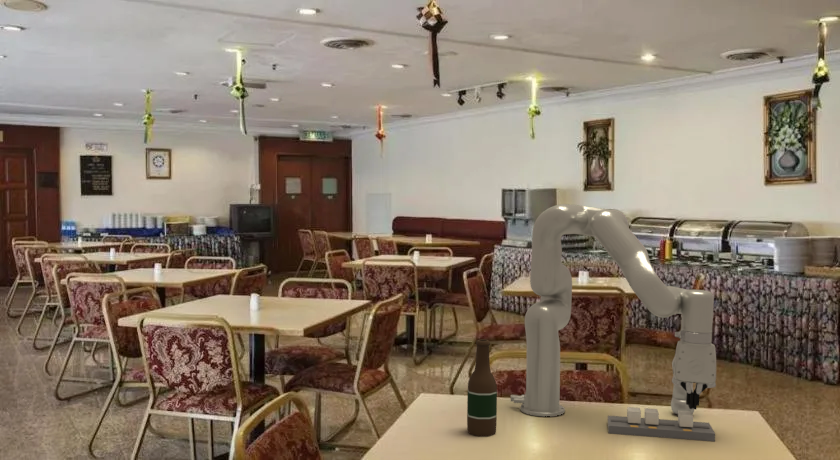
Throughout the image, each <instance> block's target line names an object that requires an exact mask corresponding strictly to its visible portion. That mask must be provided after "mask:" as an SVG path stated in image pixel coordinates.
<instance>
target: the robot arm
mask: <svg viewBox="0 0 840 460" xmlns="http://www.w3.org/2000/svg"><path fill="white" fill-rule="evenodd" d="M564 235H581V236H588V237H594V238H596V239H597V241H598V242H599V244H600V245H601V246H602V247H603V248H604V250H605V251H606V252H607V254H608V255H609V256H610V257H611V259H613V261H614V262H615V263H616V265H617V266H618V267H619V269H620V271H621V272H622V275H623V277H624V278H625V280H626V282H627V283H628V284H629V287H630V289H632V291H633V292H634V294H635V295H636V296H637V298H638V299H639V300H640V301H641V303H642V304H643V305H644V307H645V308H646V309H647V310H648V311H649V312H650V313H651V314H652V315H653V316H656V317H659V318H662V319H663V318H664V319H665V318H669V317H672V316H674V315H677V314H679V315H680V314H681V323H680V325H681V326H680V330H679V331H675V332H674V337H675V338H678V339H680V340H677V344H676V348H675V353H674V357H675V358H674V357H673V359H674V367H673V368H672V375H673V374H674V375H673V376H672V378H671V384H673V385H674V384H676V385H680V386H682V387H683V388H684V389H685V391H686V392H687V395H686V404H687V405H688V406H689V408H690V409H694V410H697V407H698V406H699V407H700V395H701V394H702V393H703V392H704V391H706V390H707V389H711V388H716V386H717V384H716V381H717V355H716V353H717V352H716V346H715V344H713V343H712V340H713V339H712V338H713V323H714V322H713V320H714V319H713V318H714V304H715V303H714V302H715V299H714V298H715V297H714V294H713V293H712V292H711V291H709V290H704V289H687V288H686V289H685V288H681V287H677V286H674V285H673V286H672V285H666V284H665V283H664V282H663V281H662V280H661V278H660V277H659V276H658V274H657V273H656V271H655V269H654V268H653V267H652V266H653V265H652V264H651V261H650V257H649V253H648V250H647V249H646V247H645V246H644V244H643V243H642V242H641V241H640V240H639V238H637V236H636V235H635V234H634V233H633V231H632V230H631V229H630V228H629V221H628V218H627V217H626V215H625V214H624V212H621V211H620V210H616V209H611V208H601V207H600V208H599V207H592V206H587V205H581V204H580V205H579V204H578V205H577V204H569V203H567V204H566V203H561V204H557V205H553V206H551V207H548V208H546V210H544V211H542V212H541V213H540V214H539V215H538V216H537V218H536V219H535V221H534V224H533V228H532V235H531V240H532V241H531V242H532V243H531V246H532V247H531V254H530V256H531V257H530V276H529V277H530V278H529V279H530V280H529V283H530V284H529V285H530V288H531V290H532V292H533V293H534V294H536V295H537V296H539V297H540V301H537V302H535V303H533V304H532V305H531V306H530V307H528V309H527V311H526V313H525V315H524V328H525V339H526V371H525V372H526V374H525V375H526V376H525V377H526V378H525V379H526V380H525V383H526V384H525V393H524V394H523V393H522V394H521V395H518V394H511V395H510V402H513V403H514V404H520V412H522V413H524V414H526V415H529V414H530V415H531V416H536V417H545V416H546V417H547V416H550V417H558V416H557V415H559V416H561V414H562V415H564V414H565V413H564V412H566V408H565V407H564V406H563V405H561V404H560V401H561V399H560V394H561V392H560V390H561V387H560V386H561V342H560V337H559V336H560V335H559V331H561V330H563V329H564V328H565V327H566V326H567V325H568V324H569V322H570V319H571V316H572V315H571V314H572V299H573V295H572V294H573V278H572V274H571V270H569V268H568V267H567V266H566V265H565V264H563V263H562V254H563V248H562V247H563V246H562V237H563V236H564ZM691 383H693V384H695V387H694V389H693V393H692V390H691ZM563 413H564V414H563Z"/></svg>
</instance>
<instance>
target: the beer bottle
mask: <svg viewBox="0 0 840 460" xmlns="http://www.w3.org/2000/svg"><path fill="white" fill-rule="evenodd" d="M475 345H476V351H475V365H474V370H473V372H472V373H471V374H470V377H469V379H468V382H467V399H466V400H467V402H466V403H467V408H466V409H467V411H466V412H467V413H466V426H467V427H466V428H467V431H468V433H469V435H472V436H474V437H491V436H494V435H496V433H497V421H498V420H497V417H498V416H497V415H498V414H497V410H498V409H497V408H498V390H497V389H498V388H497V381H496V379H495V377H494V375H493V373H492V370H491V366H490V365H491V364H490V345H491V343H490V340H488V339H484V338H481V339H477V340H476V341H475Z"/></svg>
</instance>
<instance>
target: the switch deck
mask: <svg viewBox="0 0 840 460" xmlns="http://www.w3.org/2000/svg"><path fill="white" fill-rule="evenodd" d="M607 432H608V434H614V435H625V436H638V437H639V436H640V437H650V438H652V437H653V438H666V439H677V440H690V441H691V440H693V441H703V442H704V441H706V442H716V433H715V431H714V429H713V427H712V425H711V424H710V422H704V421H693V427H681V426H679V423H678V419H674V420H673V419H664V418H660V419H659V424H658V425H654V424H646V423H645V420H644V417H641V424H640V423H628V420H627V416H620V415H619V416H618V415H607Z"/></svg>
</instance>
